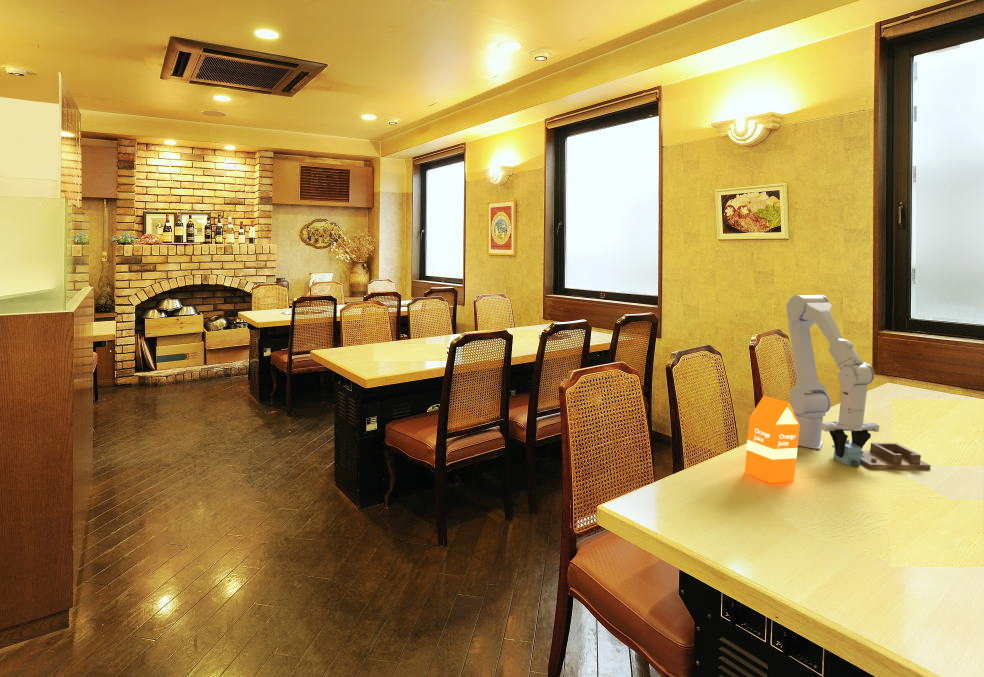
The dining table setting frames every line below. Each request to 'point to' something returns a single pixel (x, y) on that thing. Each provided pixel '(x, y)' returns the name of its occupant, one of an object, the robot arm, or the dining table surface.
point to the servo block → (850, 454)
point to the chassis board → (891, 457)
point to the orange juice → (772, 441)
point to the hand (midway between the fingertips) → (846, 456)
